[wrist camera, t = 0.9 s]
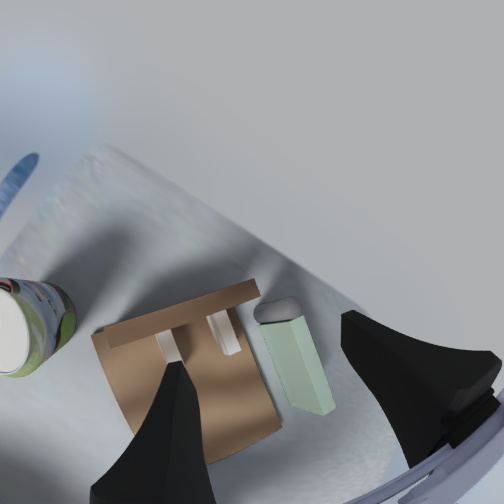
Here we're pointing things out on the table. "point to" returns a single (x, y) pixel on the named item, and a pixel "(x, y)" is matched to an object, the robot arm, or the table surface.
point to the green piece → (295, 355)
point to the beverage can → (32, 324)
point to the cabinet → (193, 367)
